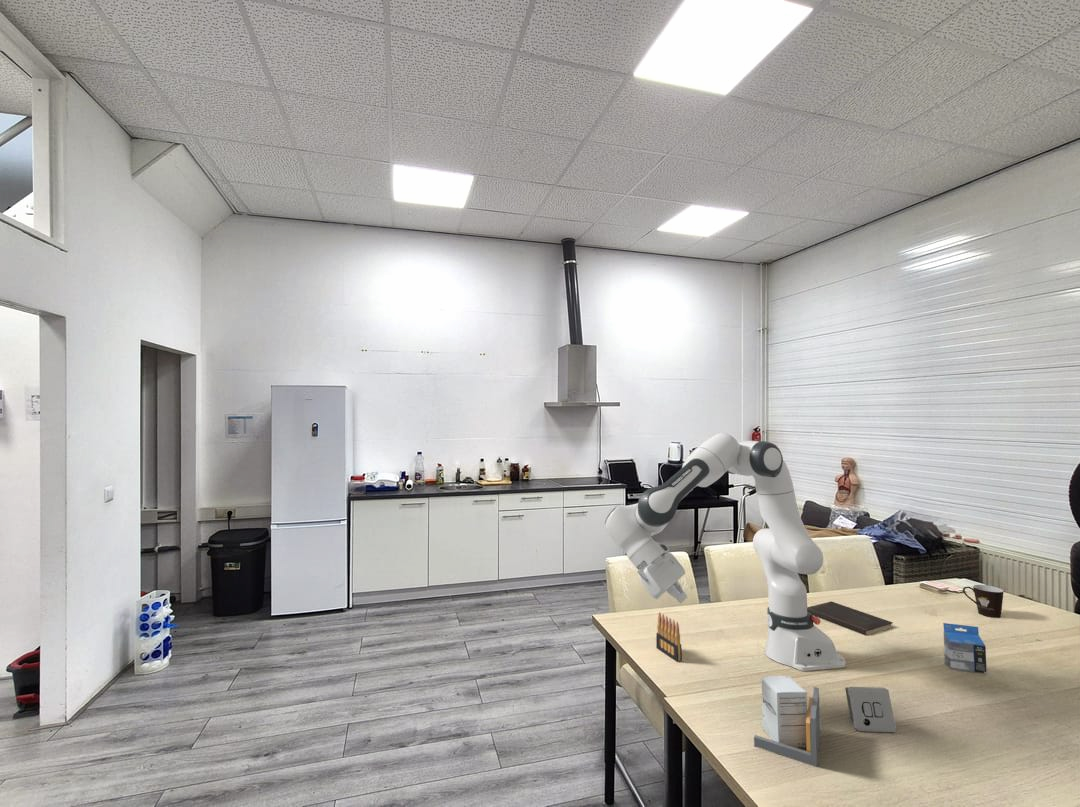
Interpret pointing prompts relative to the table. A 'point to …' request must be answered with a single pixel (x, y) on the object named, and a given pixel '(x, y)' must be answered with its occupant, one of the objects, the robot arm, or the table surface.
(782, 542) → the robot arm
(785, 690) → the supplement box
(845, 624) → the hardcover book
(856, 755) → the table surface
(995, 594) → the coffee mug
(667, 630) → the ammunition clip
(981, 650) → the ink cartridge box
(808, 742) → the orange flat slab
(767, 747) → the holder
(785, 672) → the table surface
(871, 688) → the electrical switch
